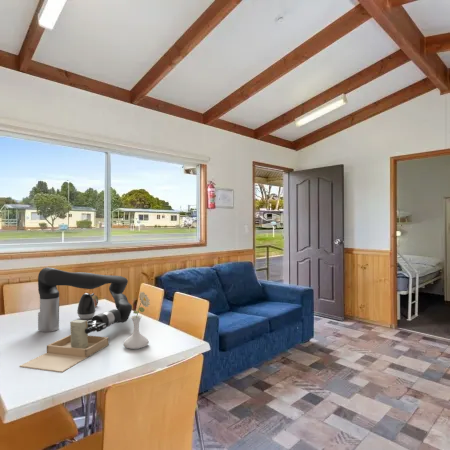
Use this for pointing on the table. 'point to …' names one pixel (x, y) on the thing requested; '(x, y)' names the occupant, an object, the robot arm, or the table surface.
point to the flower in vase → (136, 338)
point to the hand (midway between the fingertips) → (78, 330)
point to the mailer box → (66, 354)
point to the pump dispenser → (86, 306)
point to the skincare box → (79, 334)
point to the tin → (95, 300)
